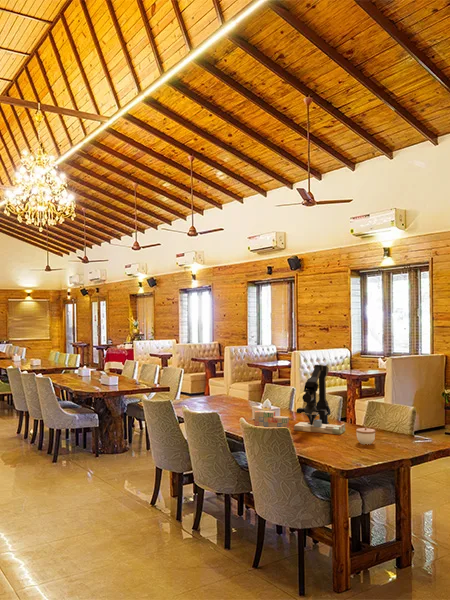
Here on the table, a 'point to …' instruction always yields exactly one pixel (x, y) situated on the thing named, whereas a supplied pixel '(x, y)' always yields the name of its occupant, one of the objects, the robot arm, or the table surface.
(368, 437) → the lidded jar
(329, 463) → the table surface
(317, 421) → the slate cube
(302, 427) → the board
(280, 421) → the stack of blocks
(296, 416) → the table surface
